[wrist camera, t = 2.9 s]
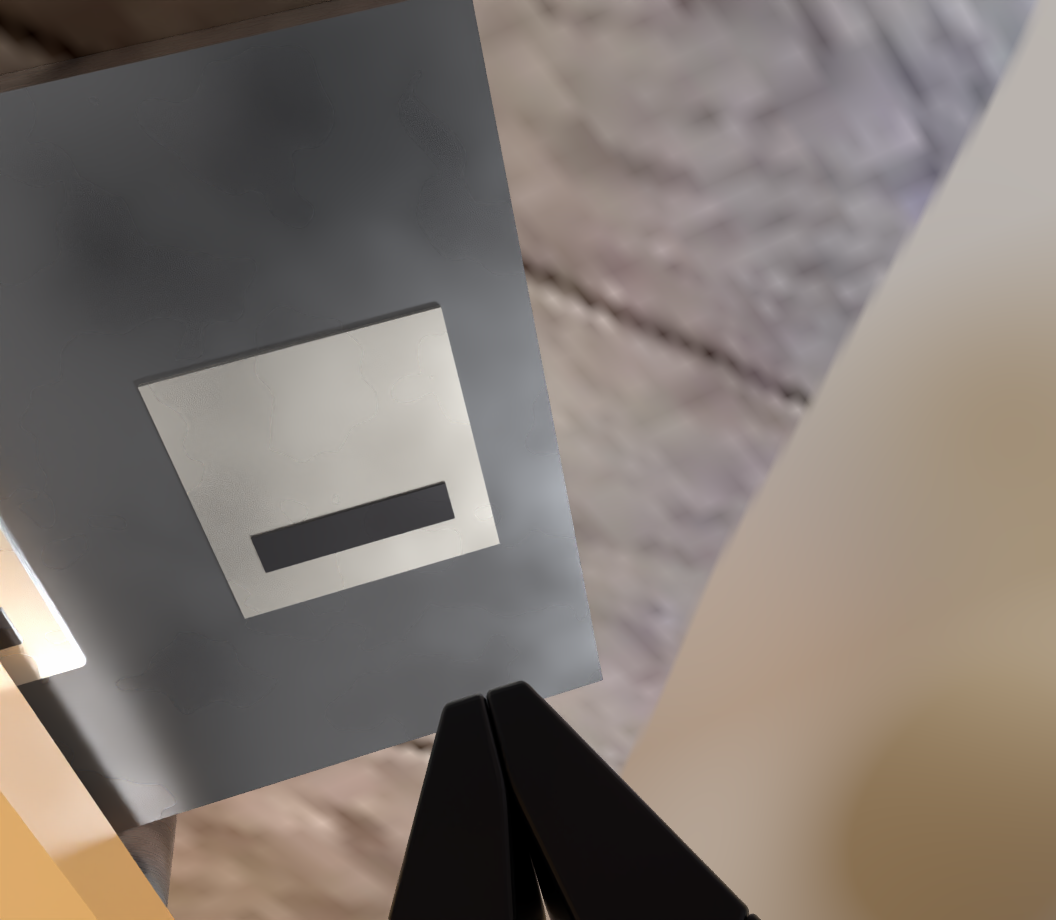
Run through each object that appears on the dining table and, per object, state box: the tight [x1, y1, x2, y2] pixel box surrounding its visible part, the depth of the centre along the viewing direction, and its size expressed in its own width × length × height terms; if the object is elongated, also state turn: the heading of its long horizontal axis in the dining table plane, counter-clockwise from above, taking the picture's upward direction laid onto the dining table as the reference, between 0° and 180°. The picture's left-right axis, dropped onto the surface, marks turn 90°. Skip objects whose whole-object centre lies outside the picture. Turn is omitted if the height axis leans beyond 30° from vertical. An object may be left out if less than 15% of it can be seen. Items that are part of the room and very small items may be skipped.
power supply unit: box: [0, 0, 603, 908], centre depth 18 cm, size 18×16×3 cm
